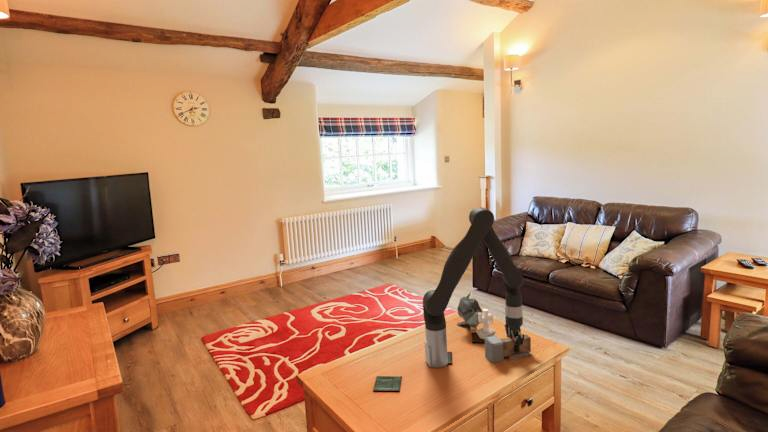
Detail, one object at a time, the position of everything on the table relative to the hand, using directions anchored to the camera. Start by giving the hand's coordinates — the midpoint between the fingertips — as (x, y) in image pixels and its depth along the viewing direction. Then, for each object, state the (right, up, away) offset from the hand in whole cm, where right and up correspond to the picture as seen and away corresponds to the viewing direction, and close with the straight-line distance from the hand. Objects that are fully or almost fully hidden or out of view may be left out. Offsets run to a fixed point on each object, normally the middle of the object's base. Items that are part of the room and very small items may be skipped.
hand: (514, 349), depth 194 cm
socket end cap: (-10, -3, -2) cm, 10 cm away
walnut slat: (0, -2, 0) cm, 1 cm away
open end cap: (+1, -2, 0) cm, 2 cm away
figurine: (-8, 0, +19) cm, 21 cm away
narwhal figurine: (-14, +1, +30) cm, 33 cm away
